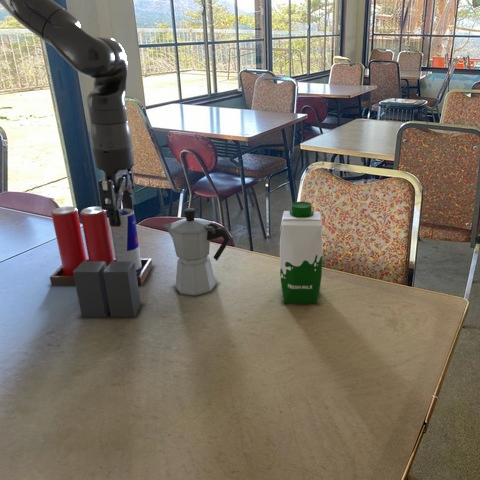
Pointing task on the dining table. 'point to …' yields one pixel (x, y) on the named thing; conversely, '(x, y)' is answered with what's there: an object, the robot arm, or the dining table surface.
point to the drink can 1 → (69, 238)
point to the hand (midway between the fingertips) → (122, 218)
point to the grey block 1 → (91, 288)
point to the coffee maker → (195, 252)
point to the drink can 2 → (97, 234)
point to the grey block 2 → (122, 288)
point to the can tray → (62, 280)
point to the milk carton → (301, 254)
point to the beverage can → (127, 239)
